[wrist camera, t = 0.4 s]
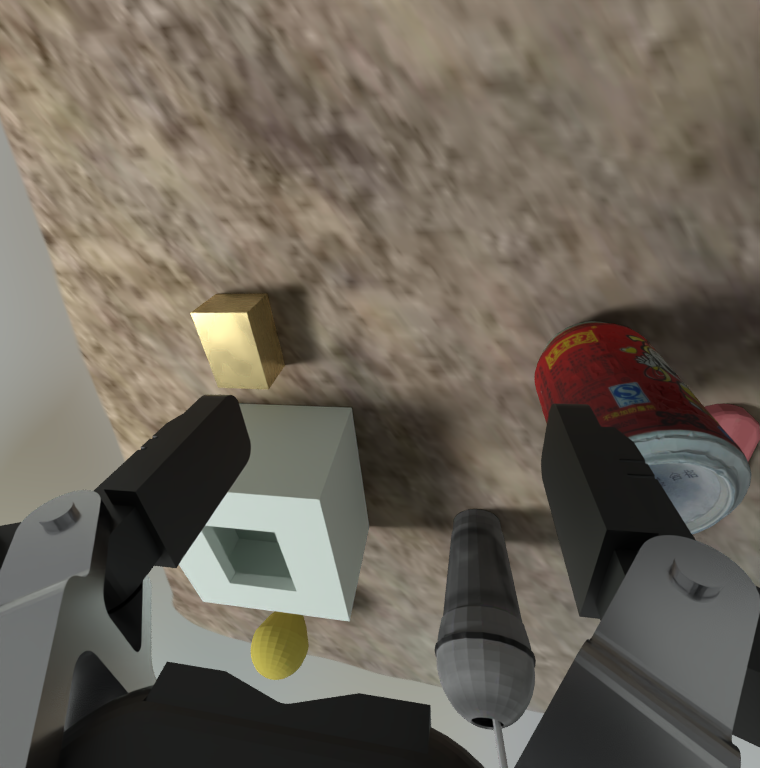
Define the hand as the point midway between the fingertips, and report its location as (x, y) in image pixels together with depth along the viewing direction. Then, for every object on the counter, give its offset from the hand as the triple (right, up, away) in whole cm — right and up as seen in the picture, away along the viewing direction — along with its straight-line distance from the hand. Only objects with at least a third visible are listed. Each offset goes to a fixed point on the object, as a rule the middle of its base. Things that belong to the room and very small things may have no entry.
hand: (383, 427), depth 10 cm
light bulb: (-11, -26, +42) cm, 50 cm away
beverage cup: (+9, -13, +28) cm, 32 cm away
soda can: (+14, +3, +17) cm, 22 cm away
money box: (-9, -7, +28) cm, 30 cm away
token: (-10, +5, +20) cm, 23 cm away
